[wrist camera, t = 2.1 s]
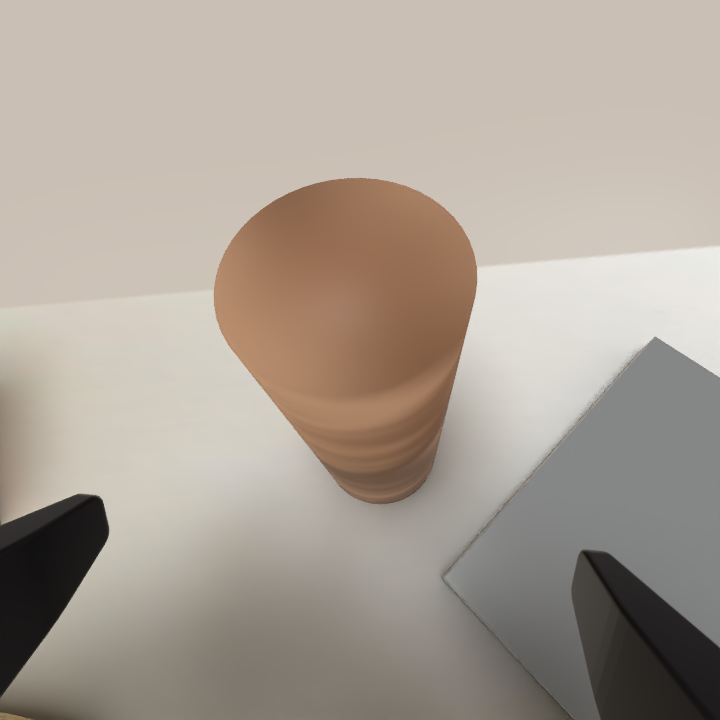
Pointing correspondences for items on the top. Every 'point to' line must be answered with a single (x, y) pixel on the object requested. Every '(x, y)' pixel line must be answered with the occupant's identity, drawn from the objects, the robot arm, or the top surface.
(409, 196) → the banded brown cylinder
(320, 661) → the top surface
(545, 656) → the slate board
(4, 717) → the food model
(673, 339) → the top surface
